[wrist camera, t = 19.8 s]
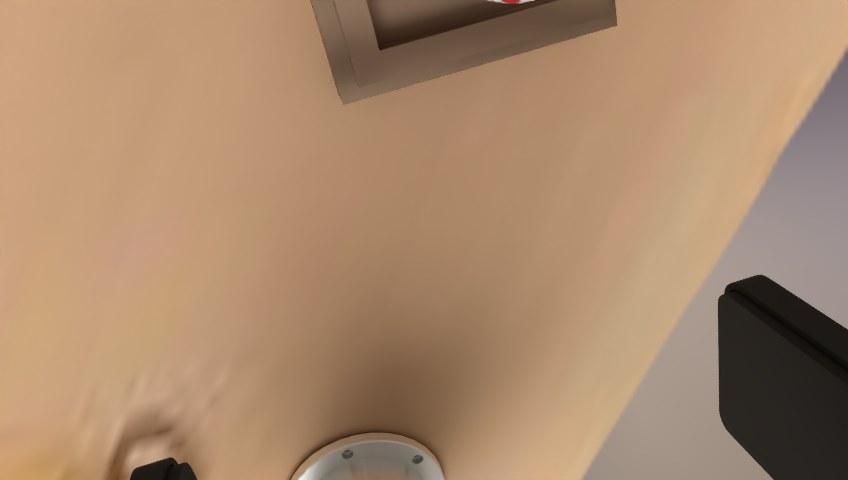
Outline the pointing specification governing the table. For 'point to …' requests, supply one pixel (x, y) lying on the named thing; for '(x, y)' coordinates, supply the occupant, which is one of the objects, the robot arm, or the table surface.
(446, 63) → the walnut tray
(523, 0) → the soda can
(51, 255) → the table surface
